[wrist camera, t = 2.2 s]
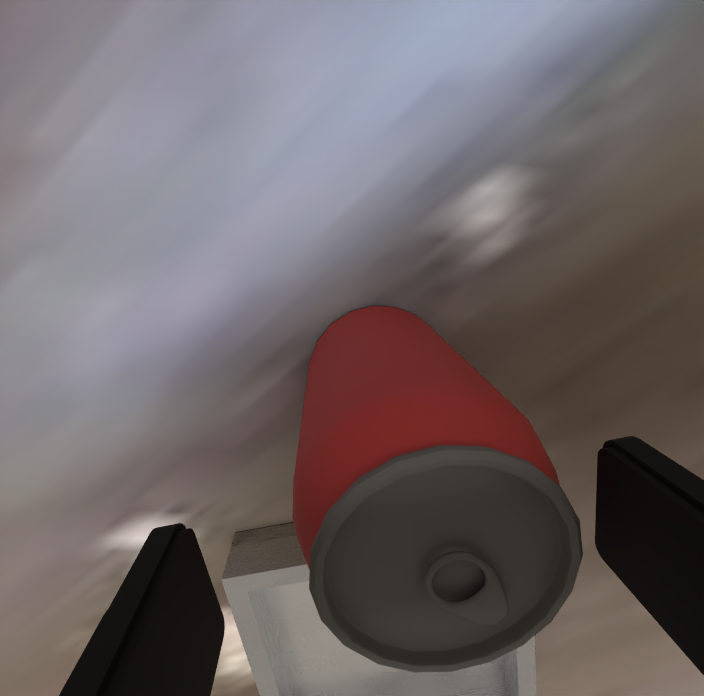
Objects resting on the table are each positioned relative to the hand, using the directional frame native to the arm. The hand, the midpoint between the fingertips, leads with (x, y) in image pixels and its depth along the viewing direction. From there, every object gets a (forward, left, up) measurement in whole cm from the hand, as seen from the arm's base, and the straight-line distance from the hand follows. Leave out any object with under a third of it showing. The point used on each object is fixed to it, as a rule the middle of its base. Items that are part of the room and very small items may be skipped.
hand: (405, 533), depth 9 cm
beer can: (-1, 0, -11) cm, 11 cm away
